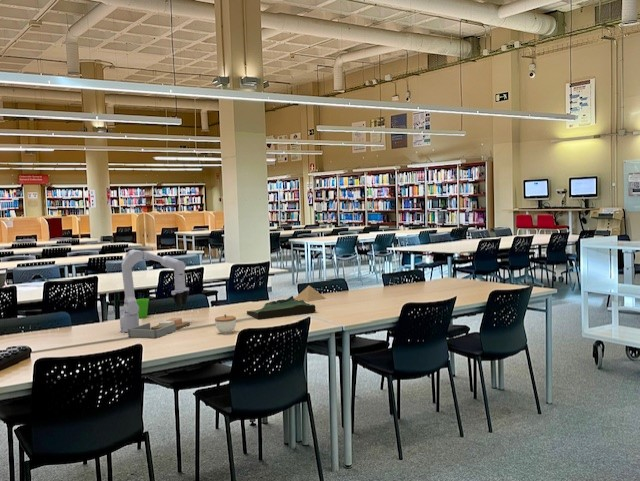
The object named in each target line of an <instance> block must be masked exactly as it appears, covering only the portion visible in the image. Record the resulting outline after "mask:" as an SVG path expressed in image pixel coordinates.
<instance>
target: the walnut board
mask: <svg viewBox="0 0 640 481" xmlns="http://www.w3.org/2000/svg"><path fill="white" fill-rule="evenodd" d="M190 325H191V324H190V322H185V321H184V322H183V321H182V323H180V324H177V325H175V329H176V331H177V330H180V329H183V328H186V327H188V326H190ZM160 328H163V327H159V324H158V325H157V324H156V325H155V326H150V330H157V329H160Z"/></svg>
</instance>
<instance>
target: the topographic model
mask: <svg viewBox="0 0 640 481" xmlns="http://www.w3.org/2000/svg"><path fill="white" fill-rule="evenodd" d="M294 298H295V297H294V295H291V296H290V297H288V298H286V299H278V300H272V301H269V302H265V303H264V305H263V306H262V308H260V309H252V310H251V309H250V310H247V311H246V315H248V316H250V317H251V318H254V319H256V320H258V321H259V320H269V319H275V318H284V317H285V318H286V317H292V316H301V315H307V314H316V312H317V311H316V305H315V304H310V303H308V302H306V301H304V300H295V299H294Z"/></svg>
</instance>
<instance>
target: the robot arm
mask: <svg viewBox="0 0 640 481" xmlns="http://www.w3.org/2000/svg"><path fill="white" fill-rule="evenodd" d="M125 253H126V254H125V256H124V258H123V261H122V262H121V274H122V283H123V290H124V302H123V303H124V304H123V306H122V307H123V308H122V310H123V311H124V314H122V315H121V316H120V319H119V325H120V326H119V327H120V330H119V332H120V333H128V329H131V328H134V327H137V326H140V318H139V315H138V311H139V306H138V305H137V302H136V297H135V296H136V295H135V287H134V286H135V285H134V277H133V270H132V268H133V267H134V266H135V265H136V264H137V263H139V262H141V261H142V260H147V259H148V260H151V261H154V262H158V263H160V264H161V266H163V267H165V268H168V269H172V270H173V274H174V275H173V276H174V290H171V297H172V298H173V300H174V303H175V306H176V308H177V307H181V305H183V306H187V300H188V297H189V294H190V287H186V277H185V276H186V272H185V270H186V267H187V265H186V263H185V262H184V261H183V260H178V258H173V257H171V256H170V255H168V254H167V255H164V256H160V255H158V254H154V253H152V252H149V251H145V250H139V249H130V250H128V251H127V252H125Z"/></svg>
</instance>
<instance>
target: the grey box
mask: <svg viewBox="0 0 640 481" xmlns="http://www.w3.org/2000/svg"><path fill="white" fill-rule="evenodd" d="M176 331H177V330H176V329H175V324H171V325H169V326H166V327H163V328H160V329H157V330H151V323H150V322H147V323H145V324H141V325H140V324H139V326H137V327H134V328H131V329H128V332H127V334H128V338H141V339H142V338H144V339H158V338H161V337H164V336H167V335H169V334H172V333H175V332H176Z"/></svg>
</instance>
